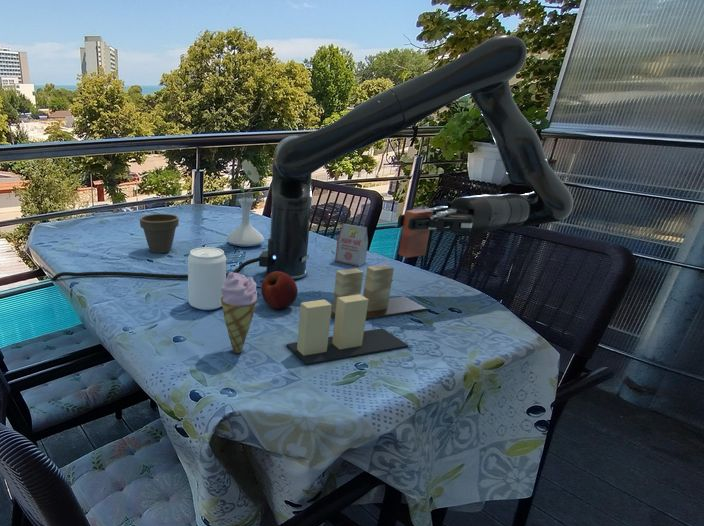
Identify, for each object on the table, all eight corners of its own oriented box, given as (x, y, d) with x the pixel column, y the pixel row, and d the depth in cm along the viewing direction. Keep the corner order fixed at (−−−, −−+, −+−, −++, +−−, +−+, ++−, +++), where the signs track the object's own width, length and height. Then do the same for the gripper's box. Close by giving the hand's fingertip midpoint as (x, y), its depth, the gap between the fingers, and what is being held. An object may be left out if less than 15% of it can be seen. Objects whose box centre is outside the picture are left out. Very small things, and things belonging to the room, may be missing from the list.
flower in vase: (266, 249, 138) (270, 162, 128) (228, 250, 138) (229, 163, 129) (259, 237, 150) (263, 157, 140) (224, 238, 150) (225, 158, 141)
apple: (253, 303, 102) (254, 269, 98) (282, 297, 104) (285, 263, 101) (272, 316, 95) (274, 280, 92) (303, 309, 98) (306, 274, 95)
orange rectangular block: (406, 257, 92) (413, 213, 89) (398, 254, 95) (405, 210, 91) (425, 255, 93) (433, 211, 90) (416, 252, 96) (424, 208, 92)
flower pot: (157, 242, 148) (155, 211, 144) (186, 248, 142) (186, 215, 138) (133, 252, 139) (131, 219, 135) (163, 258, 133) (162, 223, 129)
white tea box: (341, 257, 129) (345, 222, 125) (365, 262, 124) (370, 226, 120) (335, 260, 127) (338, 225, 123) (358, 266, 122) (363, 229, 118)
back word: (341, 323, 92) (346, 278, 88) (322, 309, 98) (326, 267, 94) (426, 310, 96) (435, 267, 92) (403, 297, 102) (410, 256, 99)
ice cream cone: (217, 342, 86) (217, 265, 80) (250, 340, 86) (253, 263, 80) (223, 360, 80) (224, 279, 74) (259, 358, 80) (263, 276, 74)
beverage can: (229, 299, 104) (230, 247, 100) (220, 313, 97) (221, 259, 93) (194, 295, 107) (194, 245, 102) (183, 309, 100) (182, 256, 95)
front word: (306, 365, 78) (310, 314, 74) (286, 345, 84) (289, 298, 80) (407, 347, 82) (417, 298, 79) (382, 330, 88) (389, 284, 85)
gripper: (453, 190, 99) (383, 197, 95) (512, 202, 87) (434, 210, 83) (446, 224, 102) (378, 232, 98) (503, 241, 90) (427, 250, 86)
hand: (404, 222), depth 91 cm, fingers closed on orange rectangular block, 2 cm apart
